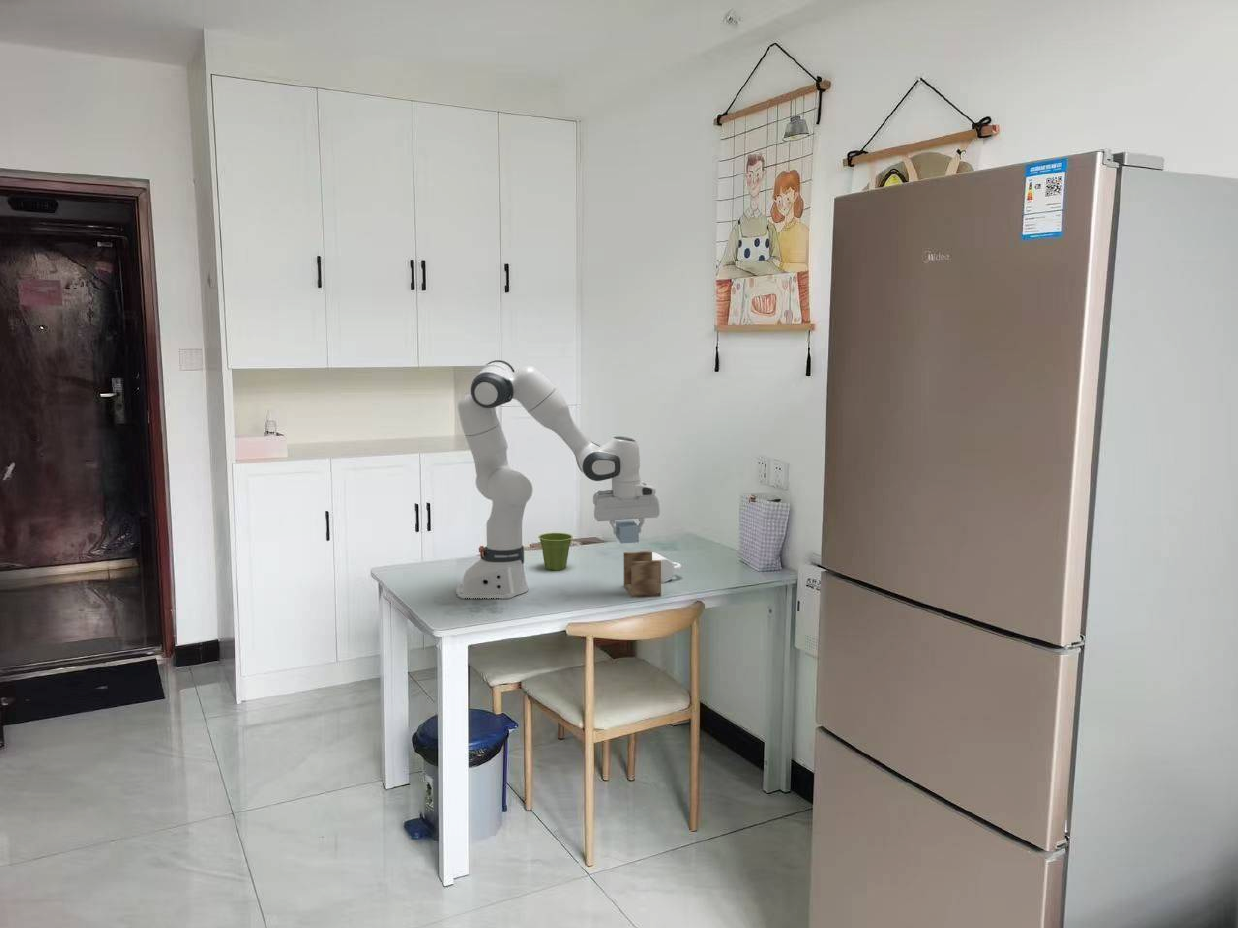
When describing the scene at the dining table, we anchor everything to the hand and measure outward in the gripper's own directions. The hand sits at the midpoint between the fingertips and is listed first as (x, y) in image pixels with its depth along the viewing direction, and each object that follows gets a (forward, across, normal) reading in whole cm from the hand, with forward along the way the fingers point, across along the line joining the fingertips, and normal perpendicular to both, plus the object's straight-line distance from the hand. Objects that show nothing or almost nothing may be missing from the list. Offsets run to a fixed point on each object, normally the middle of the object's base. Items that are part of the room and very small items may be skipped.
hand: (627, 533), depth 279 cm
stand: (+19, +4, +1) cm, 20 cm away
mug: (+20, +14, +14) cm, 28 cm away
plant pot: (+19, -19, +34) cm, 43 cm away
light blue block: (+2, 0, 0) cm, 2 cm away
